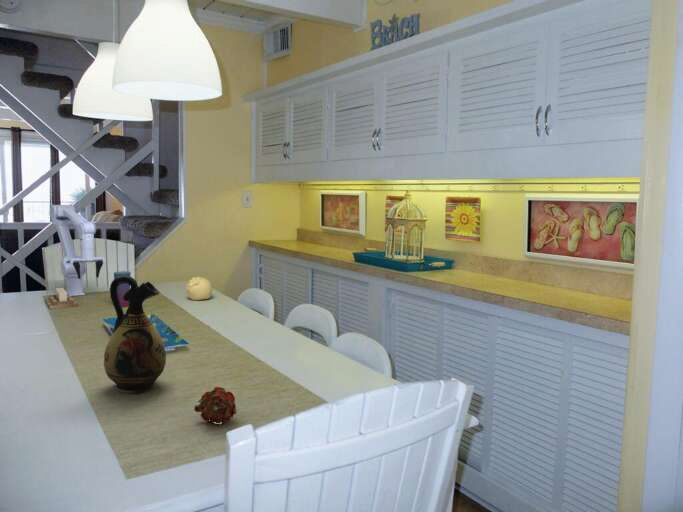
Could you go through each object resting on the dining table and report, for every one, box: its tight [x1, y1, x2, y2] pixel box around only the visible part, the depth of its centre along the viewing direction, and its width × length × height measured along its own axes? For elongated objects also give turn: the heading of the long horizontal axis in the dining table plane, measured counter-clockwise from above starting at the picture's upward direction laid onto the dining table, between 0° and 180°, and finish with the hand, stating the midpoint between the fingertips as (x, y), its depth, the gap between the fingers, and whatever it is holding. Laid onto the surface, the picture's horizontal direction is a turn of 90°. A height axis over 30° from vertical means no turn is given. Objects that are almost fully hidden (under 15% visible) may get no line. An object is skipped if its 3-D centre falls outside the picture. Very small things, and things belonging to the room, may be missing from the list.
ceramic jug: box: [103, 275, 167, 395], centre depth 143 cm, size 17×15×30 cm
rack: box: [44, 294, 79, 310], centre depth 241 cm, size 18×11×2 cm, turn 34°
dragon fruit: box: [194, 386, 237, 424], centre depth 126 cm, size 8×8×12 cm
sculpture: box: [185, 276, 213, 301], centre depth 257 cm, size 11×12×11 cm
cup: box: [113, 270, 131, 308], centre depth 238 cm, size 7×7×15 cm
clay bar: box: [54, 287, 67, 302], centre depth 241 cm, size 12×3×5 cm, turn 34°
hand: (88, 277), depth 250 cm, fingers open, 7 cm apart
